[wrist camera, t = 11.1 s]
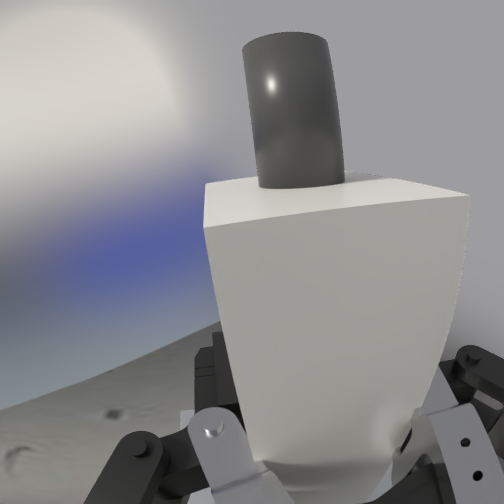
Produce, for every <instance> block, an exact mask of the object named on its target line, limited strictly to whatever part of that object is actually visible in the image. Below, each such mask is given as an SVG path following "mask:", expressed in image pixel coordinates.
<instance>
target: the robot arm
mask: <svg viewBox="0 0 504 504" xmlns="http://www.w3.org/2000/svg"><path fill="white" fill-rule="evenodd" d="M212 336H213V346H212V347H205V348H200V350H199V351H198V353H197V355H196V357H195V413H194V416H193V417H192V418H191V419H190V421H189V423H188V425H187V426H186V427H185V428H184V429H182V430H181V431H179V432H176V433H173V434H171V435H168V436H164V437H161V438H158V437H157V436H156V435H155V434H153V433H150V432H146V431H136V432H132V433H130V434H128V435H126V436H125V437H123V438H122V439H121V440H120V442H119V443H118V445H117V446H116V448H115V450H114V452H113V453H112V455H111V457H110V458H109V460H108V462H107V464H106V465H105V467H104V469H103V470H102V472H101V474H100V476H99V477H98V479H97V481H96V483H95V484H94V486H93V488H92V490H91V491H90V493H89V495H88V497H87V498H86V500H85V502H84V504H187V503H188V500H189V498H190V495H191V493H194V492H197V491H200V490H203V489H205V488H208V487H210V488H211V494H212V497H213V499H214V501H215V504H296V503H295V502H294V500H293V499H292V498H291V496H290V495H289V493H288V492H287V490H286V489H285V488H284V486H283V485H282V483H281V482H280V480H279V479H278V477H277V476H276V475H275V474H274V473H273V471H271V470H269V469H268V468H267V467H266V466H265V464H264V463H263V461H256V462H254V459H253V455H252V452H251V448H250V444H249V440H248V437H247V433H246V429H245V425H244V421H243V417H242V413H241V409H240V405H239V401H238V397H237V393H236V388H235V384H234V380H233V375H232V371H231V367H230V362H229V358H228V353H227V349H226V344H225V339H224V335H223V331H220V332H214V333H212ZM477 389H478V390H480V391H481V392H483V393H485V394H487V395H488V396H490V397H492V398H494V399H496V400H497V401H499V402H501V403H502V404H503V405H504V359H502V358H501V357H498V356H497V355H495V354H492V353H490V352H488V351H486V350H484V349H482V348H480V347H478V346H474V345H467V346H464V347H462V348H460V349H459V350H458V352H457V354H456V357H455V359H453V360H448V361H442V362H439V364H438V367H437V369H436V372H435V375H434V377H433V380H432V383H431V385H430V388H429V390H428V392H427V395H426V397H425V400H424V402H423V404H422V406H420V407H418V408H416V409H415V410H414V412H413V414H412V417H411V419H410V422H411V425H412V427H411V429H410V431H409V433H408V435H407V437H406V439H405V441H404V443H403V444H402V446H400V447H398V448H396V449H395V451H394V452H393V454H392V459H393V467H392V473H391V481H392V488H391V489H389V490H388V491H387V492H385V493H384V494H383V495H381V496H380V497H379V498H377V499H376V500H374V501H371V502H367V503H361V504H504V473H503V470H502V468H501V465H500V462H499V460H498V457H497V455H498V456H499V457H501V458H503V459H504V407H503V408H502V409H501V410H494V409H493V408H491V407H489V406H487V405H486V404H484V403H482V402H480V401H479V400H477V399H475V398H473V396H474V394H475V392H476V391H477Z"/></svg>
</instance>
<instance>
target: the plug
mask: <svg viewBox="0 0 504 504" xmlns="http://www.w3.org/2000/svg"><path fill="white" fill-rule="evenodd" d="M242 53H243V60H244V69H245V76H246V83H247V91H248V100H249V108H250V116H251V124H252V132H253V140H254V148H255V157H256V165H257V174H258V176H257V177H249V178H242V179H234V180H227V181H221V182H214V183H207V184H206V187H205V205H204V225H203V228H204V234H205V239H206V246H207V252H208V257H209V263H210V268H211V274H212V279H213V285H214V290H215V295H216V300H217V305H218V310H219V315H220V320H221V325H222V330H223V335H224V339H225V344H226V349H227V353H228V358H229V362H230V367H231V371H232V375H233V380H234V384H235V388H236V393H237V397H238V401H239V405H240V409H241V413H242V417H243V421H244V425H245V429H246V433H247V437H248V440H249V444H250V448H251V452H252V455H253V459H254V462H256V461H263V463H264V464H265V466H266V467H267V468H268V469H269V470H271V471H273V473H274V474H275V475H276V476H277V477H278V479H279V480H280V482H281V483H282V485H283V486H284V488H285V489H286V490H287V492H288V493H289V495H290V496H291V498H292V499H293V500H294V502H295V503H296V504H361V503H365V502H366V501H367V500H368V498H369V497H370V495H371V494H372V493H373V491H374V490H375V488H376V487H377V485H378V484H379V482H380V481H381V479H382V478H383V476H384V475H385V473H386V472H387V470H388V468H389V467H390V465H391V464H392V462H393V459H392V454H393V452H394V451H395V449H396V448H398V447H400V446H402V444H403V443H404V441H405V439H406V437H407V435H408V433H409V431H410V429H411V427H412V425H411V422H410V419H411V417H412V414H413V412H414V410H415V409H416V408H418V407H420V406H422V404H423V402H424V400H425V397H426V395H427V392H428V390H429V388H430V385H431V383H432V380H433V377H434V375H435V372H436V369H437V367H438V364H439V361H440V358H441V355H442V352H443V349H444V346H445V342H446V339H447V336H448V333H449V329H450V325H451V322H452V318H453V314H454V310H455V306H456V301H457V297H458V293H459V288H460V283H461V277H462V271H463V266H464V259H465V253H466V245H467V236H468V226H469V214H470V195H467V194H463V193H459V192H455V191H451V190H447V189H443V188H438V187H434V186H429V185H425V184H420V183H415V182H410V181H405V180H400V179H394V178H389V177H383V176H376V175H370V174H364V173H357V172H350V171H344V159H343V148H342V137H341V128H340V120H339V111H338V103H337V96H336V89H335V82H334V76H333V70H332V64H331V59H330V53H329V48H328V43H327V41H326V40H325V39H323V38H322V37H320V36H317V35H314V34H310V33H303V32H281V33H274V34H269V35H265V36H262V37H259V38H256V39H254V40H252V41H250V42H249V43H247V44H246V45H245V46H244V47H243V49H242Z"/></svg>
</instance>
